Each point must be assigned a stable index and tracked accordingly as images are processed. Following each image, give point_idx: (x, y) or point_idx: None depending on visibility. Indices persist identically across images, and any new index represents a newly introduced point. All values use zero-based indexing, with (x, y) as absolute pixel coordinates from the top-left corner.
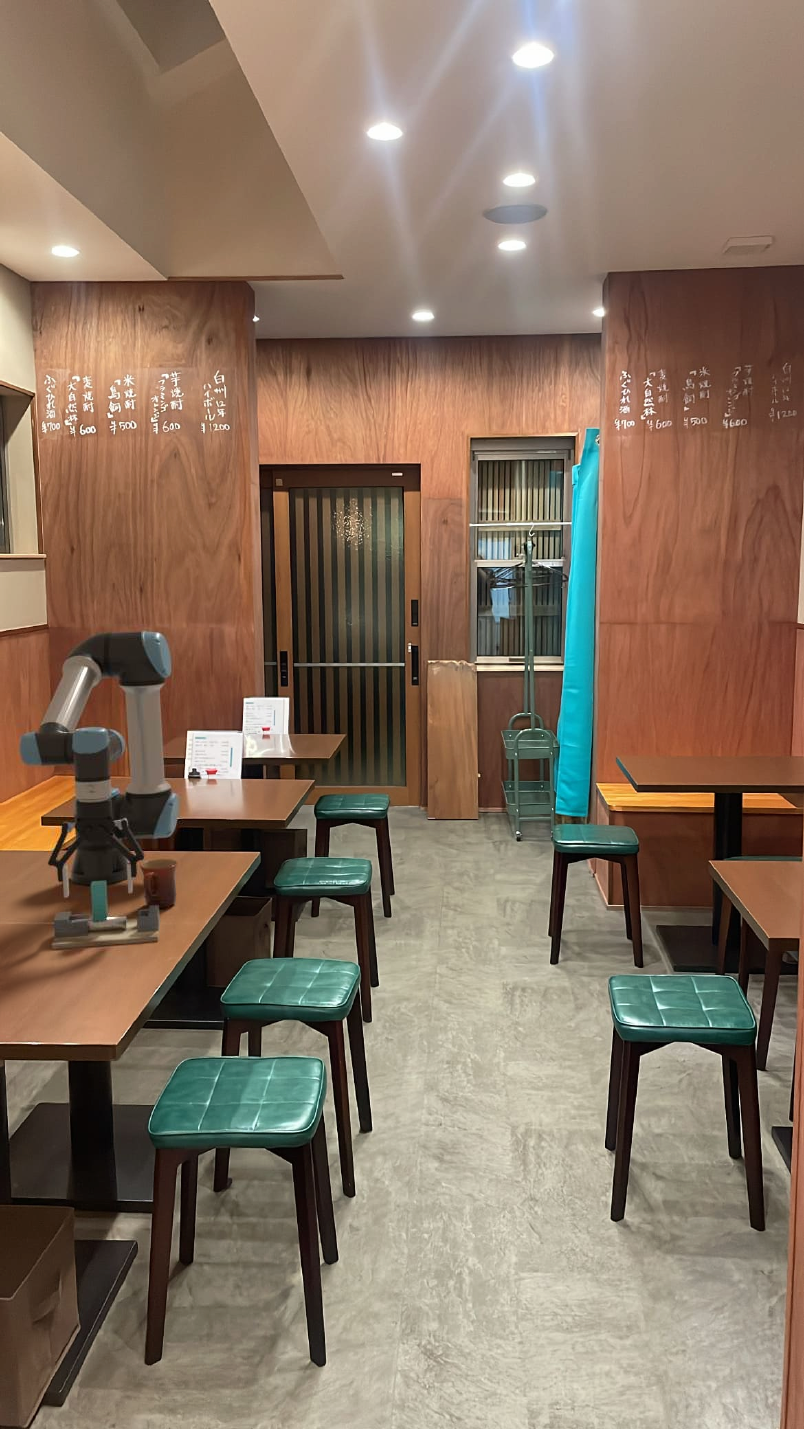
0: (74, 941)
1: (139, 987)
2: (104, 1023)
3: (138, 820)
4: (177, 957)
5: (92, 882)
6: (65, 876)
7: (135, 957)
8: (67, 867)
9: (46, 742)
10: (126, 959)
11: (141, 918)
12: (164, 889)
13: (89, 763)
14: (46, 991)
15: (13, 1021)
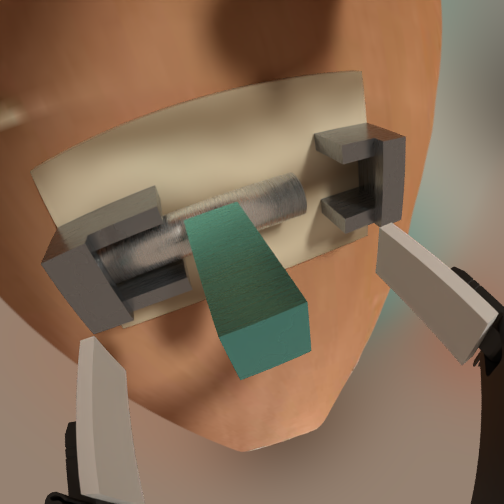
0: (168, 302)
1: (334, 376)
2: (308, 421)
3: None
4: (385, 294)
5: (231, 350)
6: (132, 464)
7: (324, 313)
8: (103, 483)
9: None
10: (310, 324)
11: (356, 228)
12: None
13: None
14: (225, 416)
15: (225, 445)
